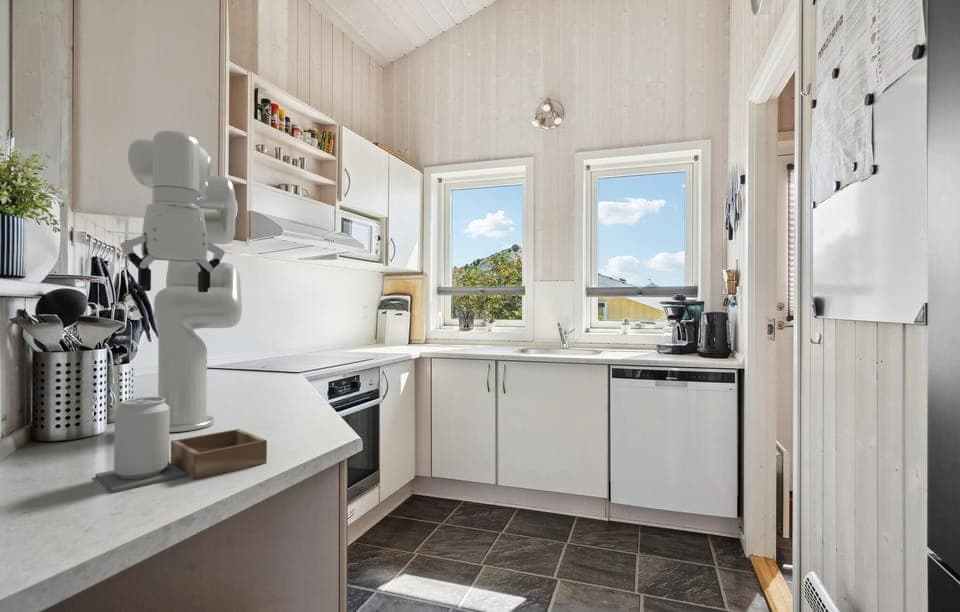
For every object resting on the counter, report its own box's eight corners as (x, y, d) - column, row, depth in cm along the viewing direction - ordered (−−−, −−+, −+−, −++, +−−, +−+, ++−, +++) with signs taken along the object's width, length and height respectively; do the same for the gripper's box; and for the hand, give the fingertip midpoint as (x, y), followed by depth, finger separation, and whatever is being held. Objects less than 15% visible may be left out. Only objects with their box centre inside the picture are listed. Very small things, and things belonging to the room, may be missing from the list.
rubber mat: (95, 476, 82) (95, 473, 82) (165, 462, 89) (165, 459, 89) (112, 493, 75) (112, 489, 75) (186, 476, 83) (186, 473, 83)
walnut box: (170, 463, 89) (170, 440, 89) (238, 449, 98) (238, 428, 98) (195, 479, 81) (196, 454, 81) (266, 462, 90) (266, 440, 90)
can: (140, 482, 78) (141, 405, 78) (101, 478, 80) (102, 402, 80) (180, 467, 86) (180, 396, 85) (143, 463, 87) (144, 393, 87)
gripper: (216, 209, 104) (215, 292, 105) (115, 195, 91) (114, 290, 92) (232, 205, 99) (231, 292, 100) (127, 189, 86) (126, 290, 87)
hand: (175, 291), depth 96 cm, fingers open, 9 cm apart
